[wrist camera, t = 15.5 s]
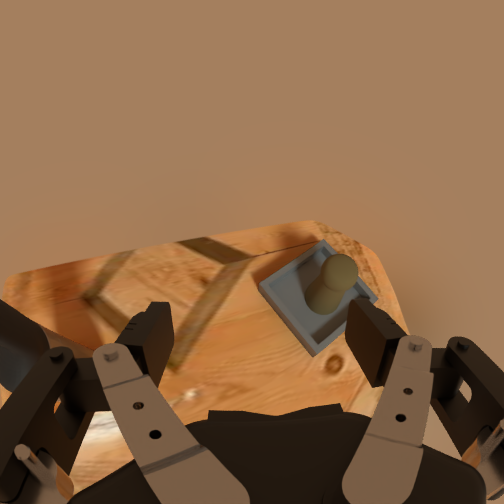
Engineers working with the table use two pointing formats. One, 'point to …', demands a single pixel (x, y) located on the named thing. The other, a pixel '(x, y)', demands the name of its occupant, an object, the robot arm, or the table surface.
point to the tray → (295, 308)
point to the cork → (331, 284)
